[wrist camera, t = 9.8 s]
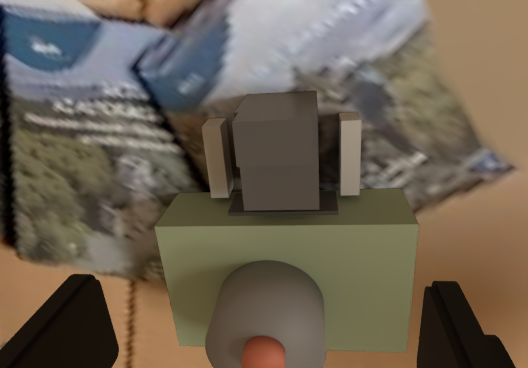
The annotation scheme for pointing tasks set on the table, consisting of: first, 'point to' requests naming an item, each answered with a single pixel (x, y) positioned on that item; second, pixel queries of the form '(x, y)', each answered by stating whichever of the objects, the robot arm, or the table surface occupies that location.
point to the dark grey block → (278, 150)
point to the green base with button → (289, 266)
